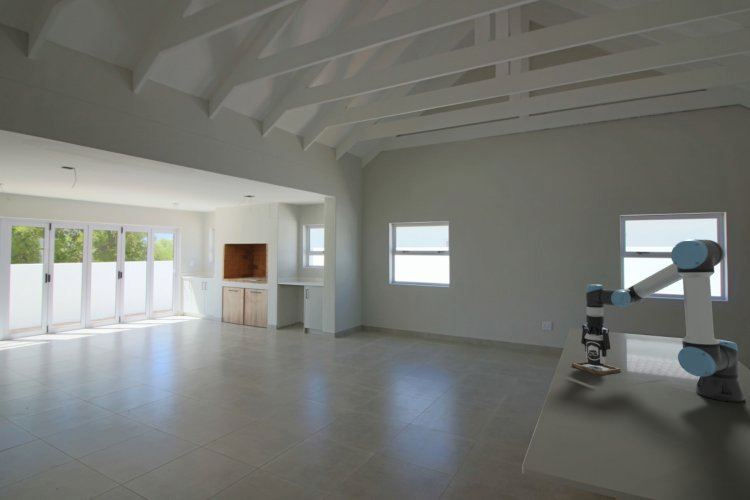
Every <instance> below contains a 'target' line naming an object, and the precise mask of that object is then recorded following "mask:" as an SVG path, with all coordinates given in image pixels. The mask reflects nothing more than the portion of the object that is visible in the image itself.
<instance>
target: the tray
mask: <svg viewBox="0 0 750 500" xmlns="http://www.w3.org/2000/svg"><path fill="white" fill-rule="evenodd" d="M585 364H588V360H587V361H578V362H572V363H571V367H573V368H576V369H578V370H582V371H585V372H589V373H590V374H593V375H597V376H604V375H605V376H606V375H611V374H616V373H617V374H618V373H621V372H622V371H621V368H620V367H616V366H613V365H609V364H606V363H603V365H602V366H604V367H607V368H610V370H603V371H597V370H594V369H591V368H588V367H584V366H582V365H585Z"/></svg>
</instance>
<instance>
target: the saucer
mask: <svg viewBox="0 0 750 500" xmlns="http://www.w3.org/2000/svg"><path fill="white" fill-rule="evenodd" d="M582 366H584V367H588V368H591V369H594V370H597V371H603V370H610V368H607V367H604V366H594V365H590V364H585V365H582Z"/></svg>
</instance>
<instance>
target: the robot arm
mask: <svg viewBox="0 0 750 500" xmlns="http://www.w3.org/2000/svg"><path fill="white" fill-rule="evenodd" d="M724 254H725V253H724V249H723V247H722V246H721V244H719V243H718V242H717V241H714V240H711V239H696V238H695V239H694V238H693V239H685V240H682V241H680V242H678V243H676V244H675V245H674V246H673V248H672V249H671V252H670V259H671V261H672V263H670V264H669V265H667V266H665V267H664V268H662V269H660V270H658V271H657V272H655V273H653V274H651V275H649V276H648V277H646V278H644V279H642V280H641V281H639V282H637V283H635V284H633V285H631V286H629V287H627V288H622V289H621V288H620V289H605V288H604V285H603V284H599V283H598V284H596V283H595V284H592V283H591V284H587V285H586V290H585V297H586V298H585V299H586V306H585V307H586V310H585V311H586V312H585V313H586V323H587V324H582V325H581V328H582V331H581V332H582V333H581V342H580V343H581V344H582V345H584V352H585V359H586V360H588V355H587V346H586V338H585V335H586V333H588V334H596V335H598V336H599V335H603V341H601V342H600V346H601V349H600V363H603V364H606V358H607V356H608V355H607V351H608V350H611V343H610V342H611V341H610V336H609V333H610V329H609V328H605V327H604V323H605V322H604V320H605V319H604V305H606V306H607V305H608V306H613V307H617V308H618V307H619V308H620V307H624V308H625V307H628V305H637V304H640V303H641V302H643V300H644V299H646V298H648V297H649V296H651V295H653V294H655V293H657V292H659V291H662V290H664V289H665V288H668V287H669V286H671V285H673V284H675V283H678V282H680V281H681V280H682V286H683V287H682V289H683V303H684V317H685V318H684V319H685V331H686V332H685V333H686V336H684V337H683V338H682V340H681V342H682V348H681V349H680V350H679V352H678V354H677V361H678V363H679V366H680V367H681V368H682V369H683V370H684V371H685V372H686V373H688V374H689V375H692V376H695V377H699V379H698V381H697V383H696V386H695V392H696V393H697V394H699V395H700V396H703V397H705V398H708V399H713V400H717V401H723V402H732V403H734V402H735V403H738V402H743V401H744V400H745V392H744V390H743V387H742V385H741V383H740V380H739V350H738V344H737V343H736V342H734V341H728V340H724V339H717V338H715V331H714V319H713V318H714V317H713V316H714V315H713V305H712V290H711V276H713V275H714V274H715V267H716V266H717V265H718V264H720V263H721V262H722V261H723V259H724V256H725V255H724Z"/></svg>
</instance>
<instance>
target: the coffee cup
mask: <svg viewBox="0 0 750 500" xmlns="http://www.w3.org/2000/svg"><path fill="white" fill-rule="evenodd" d="M585 338H586V346H587V355H588V359H587V361H588V364H590V365H594V366H602V365H603V364H604V363H600V349H601V346H600V342H601V341H603V335H599V336H598V335H596V334H588V333H586V335H585Z"/></svg>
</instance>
